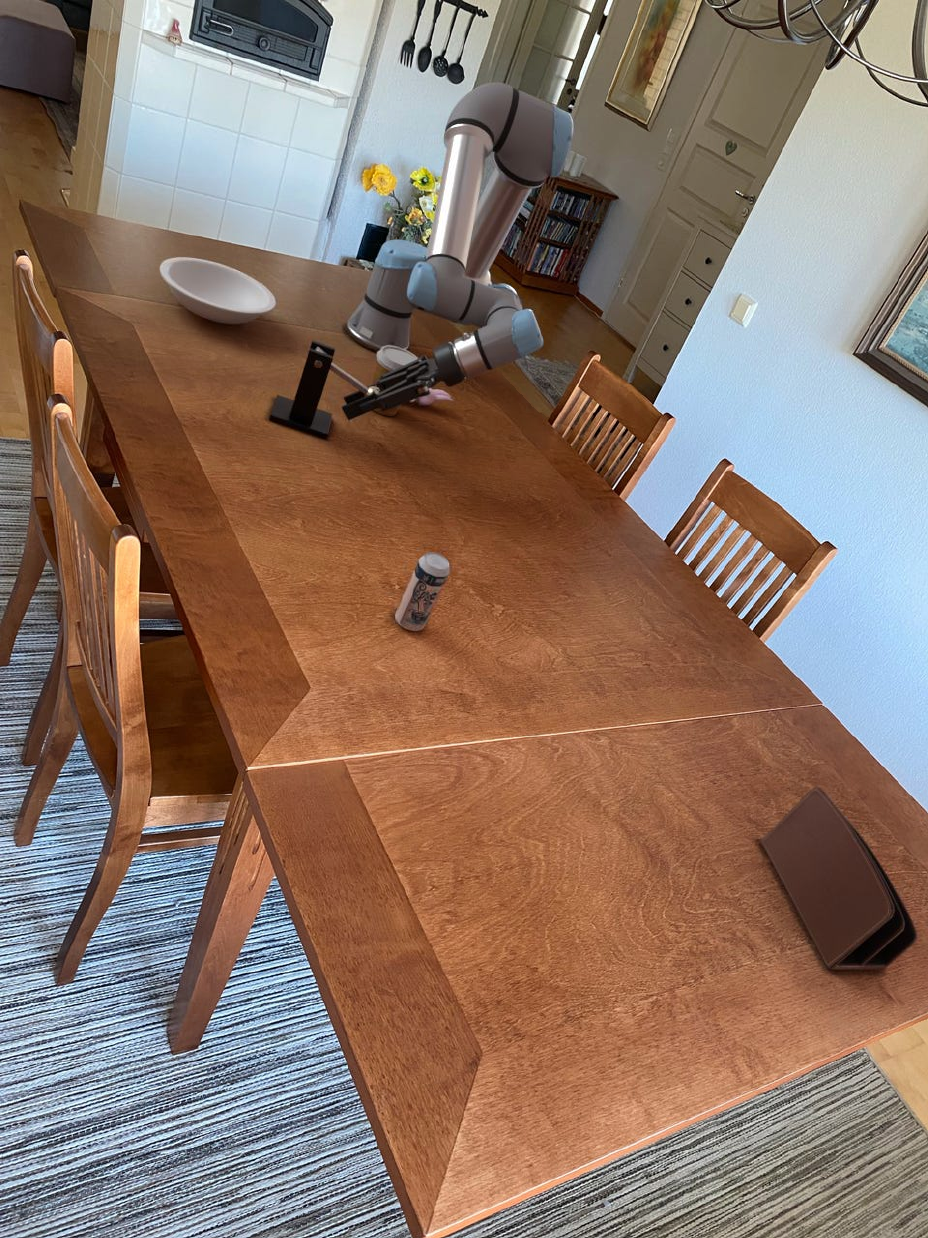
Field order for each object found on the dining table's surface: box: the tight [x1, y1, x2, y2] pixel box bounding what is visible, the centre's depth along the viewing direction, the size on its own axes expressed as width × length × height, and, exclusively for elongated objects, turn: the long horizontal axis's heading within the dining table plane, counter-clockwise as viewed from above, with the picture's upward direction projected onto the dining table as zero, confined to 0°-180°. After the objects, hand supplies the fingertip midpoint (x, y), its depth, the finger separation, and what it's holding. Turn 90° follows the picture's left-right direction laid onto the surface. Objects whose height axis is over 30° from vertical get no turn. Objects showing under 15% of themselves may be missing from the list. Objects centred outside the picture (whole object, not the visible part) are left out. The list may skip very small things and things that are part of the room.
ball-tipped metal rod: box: [315, 347, 382, 397], centre depth 171 cm, size 15×4×4 cm, turn 92°
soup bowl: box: [159, 256, 277, 325], centre depth 195 cm, size 24×24×7 cm
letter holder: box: [760, 786, 918, 971], centre depth 123 cm, size 10×20×14 cm, turn 14°
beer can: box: [394, 552, 451, 632], centre depth 137 cm, size 5×5×12 cm
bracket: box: [268, 339, 336, 440], centre depth 172 cm, size 11×9×15 cm
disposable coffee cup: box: [371, 345, 419, 417], centre depth 190 cm, size 10×10×12 cm
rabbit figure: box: [409, 387, 454, 406], centre depth 200 cm, size 6×6×15 cm
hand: (346, 408), depth 175 cm, fingers closed on ball-tipped metal rod, 4 cm apart
